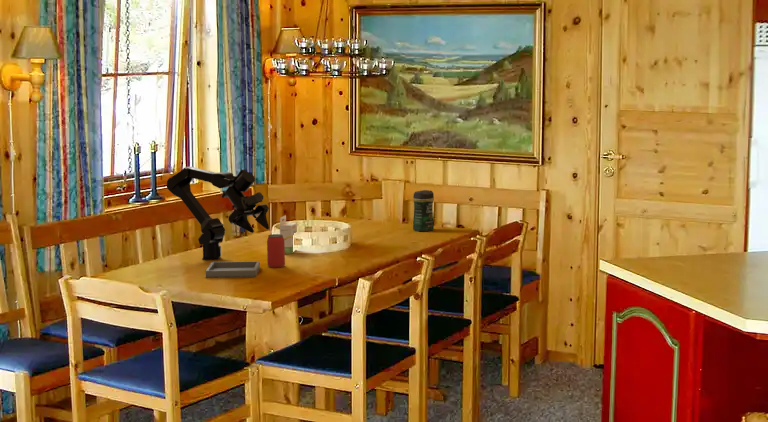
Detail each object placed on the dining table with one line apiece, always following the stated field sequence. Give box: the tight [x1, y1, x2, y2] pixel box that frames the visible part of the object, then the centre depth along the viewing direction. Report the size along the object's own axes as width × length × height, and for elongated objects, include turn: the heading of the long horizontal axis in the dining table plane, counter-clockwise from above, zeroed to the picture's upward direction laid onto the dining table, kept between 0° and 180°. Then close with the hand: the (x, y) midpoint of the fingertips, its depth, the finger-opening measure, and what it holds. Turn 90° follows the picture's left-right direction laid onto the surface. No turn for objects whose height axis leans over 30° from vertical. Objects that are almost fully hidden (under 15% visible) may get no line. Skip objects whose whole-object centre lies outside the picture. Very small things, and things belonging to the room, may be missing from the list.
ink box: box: [279, 214, 298, 255], centre depth 426 cm, size 9×5×15 cm, turn 168°
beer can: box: [266, 233, 286, 269], centre depth 395 cm, size 7×7×12 cm
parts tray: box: [205, 260, 261, 279], centre depth 385 cm, size 18×18×2 cm
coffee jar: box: [412, 189, 435, 232], centre depth 479 cm, size 10×8×19 cm
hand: (260, 230), depth 399 cm, fingers open, 9 cm apart
